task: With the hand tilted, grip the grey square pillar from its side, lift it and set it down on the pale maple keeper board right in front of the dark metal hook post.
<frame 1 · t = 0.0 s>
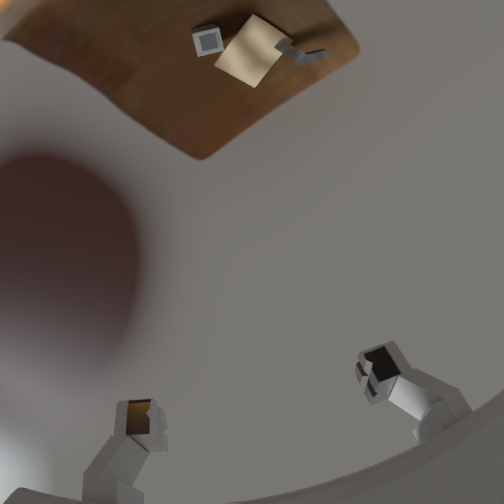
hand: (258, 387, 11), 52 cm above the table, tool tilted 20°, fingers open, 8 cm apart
keeper: (253, 50, 45), on the table
grey square pillar: (204, 35, 41), on the table
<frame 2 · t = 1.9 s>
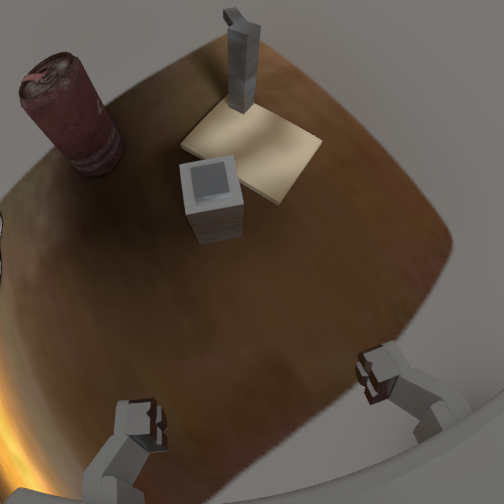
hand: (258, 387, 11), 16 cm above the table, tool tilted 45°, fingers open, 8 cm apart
keeper: (251, 144, 30), on the table
grey square pillar: (217, 220, 28), on the table
can: (100, 156, 30), on the table
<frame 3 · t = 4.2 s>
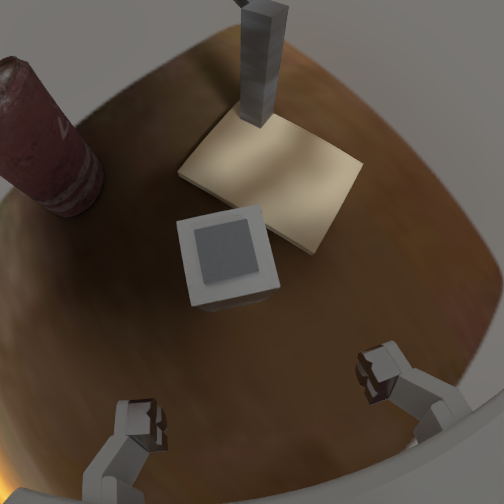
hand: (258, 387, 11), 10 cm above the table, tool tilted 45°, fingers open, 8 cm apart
keeper: (273, 169, 23), on the table
grey square pillar: (232, 278, 21), on the table
can: (76, 188, 23), on the table
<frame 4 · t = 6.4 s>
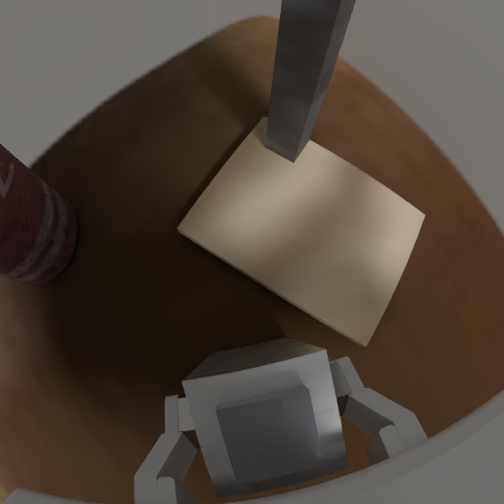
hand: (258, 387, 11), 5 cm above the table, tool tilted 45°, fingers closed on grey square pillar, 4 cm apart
keeper: (311, 223, 17), on the table
grey square pillar: (257, 380, 15), on the table, touching gripper
can: (45, 240, 17), on the table
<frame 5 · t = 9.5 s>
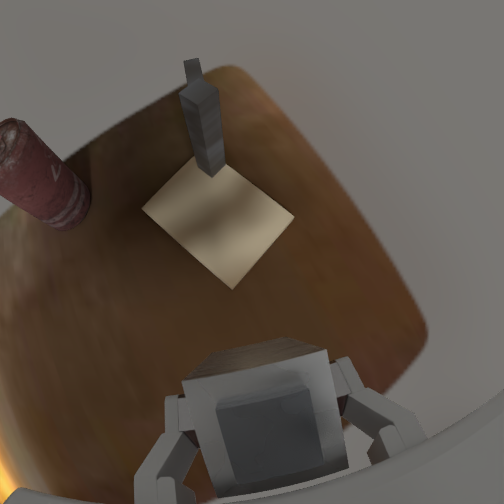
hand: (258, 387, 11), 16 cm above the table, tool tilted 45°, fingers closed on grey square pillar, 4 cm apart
keeper: (216, 214, 29), on the table
grey square pillar: (257, 380, 15), point 12 cm above the table, touching gripper
can: (70, 207, 29), on the table
when the fingers open (6 cm above the table, at t = 12.4 s): grey square pillar stays where it is, resting on keeper.
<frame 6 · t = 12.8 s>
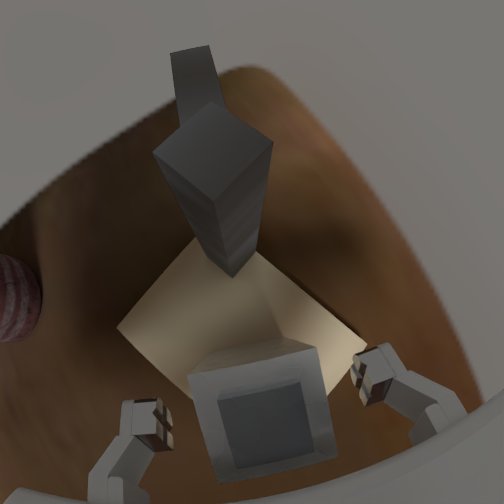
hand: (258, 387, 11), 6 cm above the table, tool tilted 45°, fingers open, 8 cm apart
keeper: (241, 340, 17), on the table
grey square pillar: (255, 377, 16), point 1 cm above the table, touching keeper
can: (17, 301, 17), on the table
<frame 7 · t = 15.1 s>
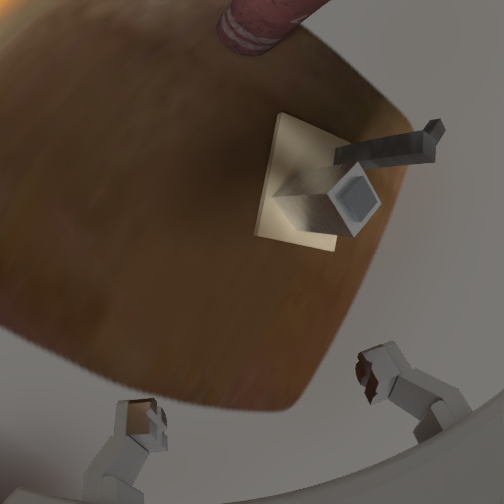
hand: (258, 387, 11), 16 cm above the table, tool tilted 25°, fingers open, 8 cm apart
keeper: (305, 184, 29), on the table
grey square pillar: (298, 200, 28), point 1 cm above the table, touching keeper
can: (242, 34, 24), on the table
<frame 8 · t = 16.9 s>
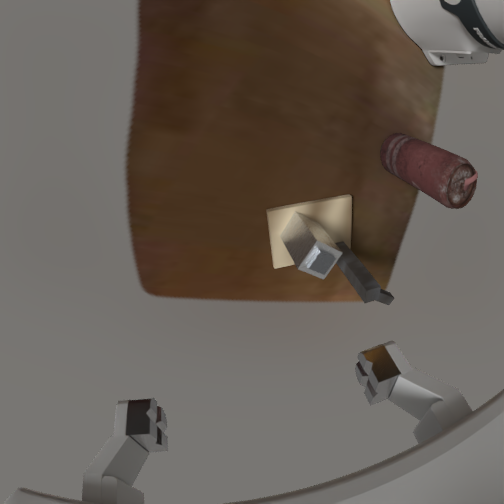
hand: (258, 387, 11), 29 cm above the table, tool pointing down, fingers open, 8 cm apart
keeper: (311, 230, 42), on the table
grey square pillar: (299, 229, 40), point 1 cm above the table, touching keeper
can: (395, 151, 38), on the table
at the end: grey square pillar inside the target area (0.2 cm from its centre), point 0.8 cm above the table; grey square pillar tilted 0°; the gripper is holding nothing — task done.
